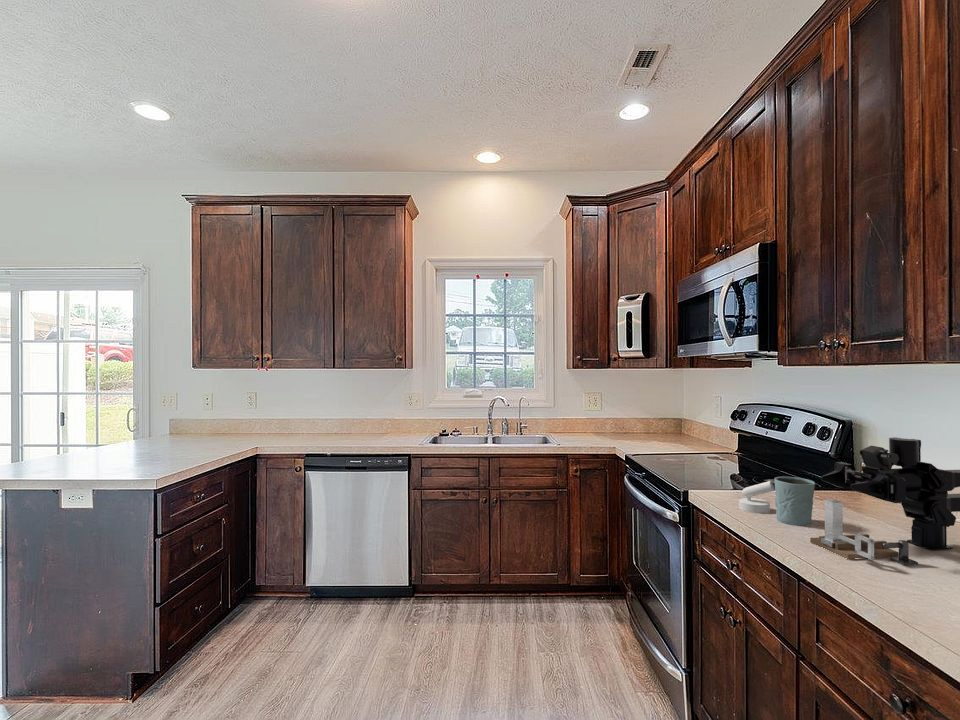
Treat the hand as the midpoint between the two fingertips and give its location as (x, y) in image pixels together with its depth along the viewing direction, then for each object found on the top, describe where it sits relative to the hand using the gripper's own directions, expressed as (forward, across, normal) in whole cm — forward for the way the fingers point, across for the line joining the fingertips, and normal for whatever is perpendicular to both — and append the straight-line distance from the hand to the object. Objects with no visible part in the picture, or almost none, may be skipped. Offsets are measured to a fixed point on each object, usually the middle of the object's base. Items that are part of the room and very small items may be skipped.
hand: (835, 482), depth 130 cm
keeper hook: (-7, +9, +17) cm, 20 cm away
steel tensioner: (+1, +5, +15) cm, 16 cm away
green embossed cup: (-6, -23, +17) cm, 29 cm away
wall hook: (-3, -36, +17) cm, 40 cm away
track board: (-4, 0, +17) cm, 17 cm away
